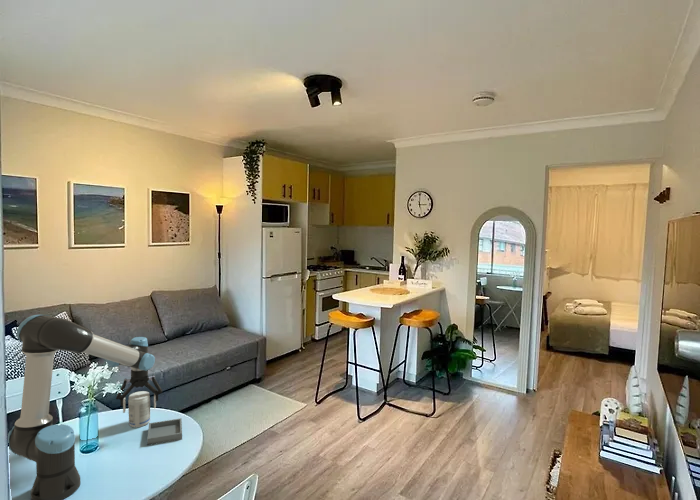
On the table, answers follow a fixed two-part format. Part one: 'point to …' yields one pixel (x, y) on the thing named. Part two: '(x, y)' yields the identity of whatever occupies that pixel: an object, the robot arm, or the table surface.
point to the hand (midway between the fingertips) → (139, 409)
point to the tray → (164, 431)
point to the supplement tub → (139, 409)
